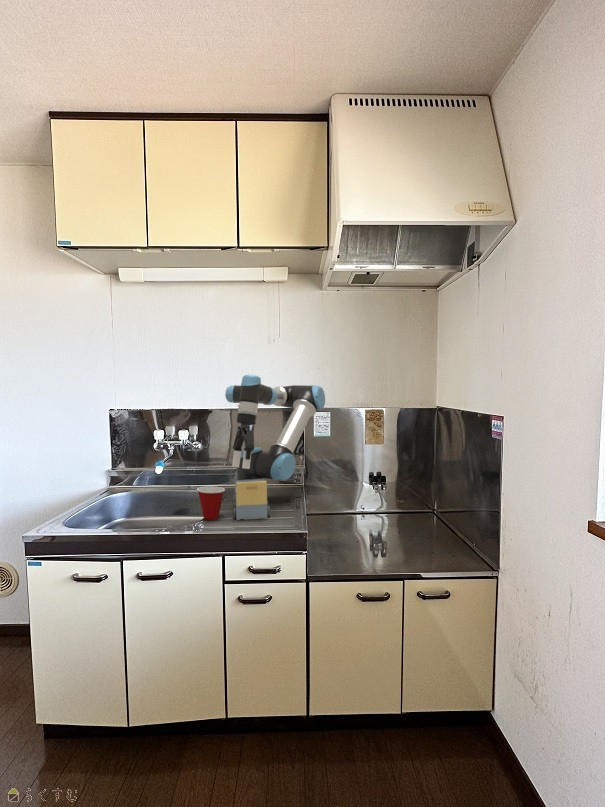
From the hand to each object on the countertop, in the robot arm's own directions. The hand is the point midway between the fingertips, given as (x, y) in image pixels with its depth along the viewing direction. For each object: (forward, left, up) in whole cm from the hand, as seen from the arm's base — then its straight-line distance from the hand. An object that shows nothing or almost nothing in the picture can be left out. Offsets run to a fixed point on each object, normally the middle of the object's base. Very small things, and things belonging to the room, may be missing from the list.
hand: (240, 467), depth 183 cm
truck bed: (-7, -1, -20) cm, 21 cm away
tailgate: (-1, +5, -14) cm, 15 cm away
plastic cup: (+6, -10, -20) cm, 23 cm away
